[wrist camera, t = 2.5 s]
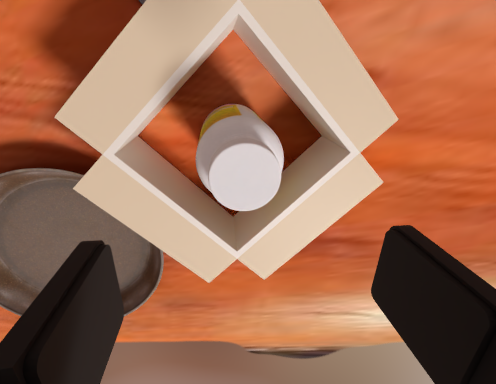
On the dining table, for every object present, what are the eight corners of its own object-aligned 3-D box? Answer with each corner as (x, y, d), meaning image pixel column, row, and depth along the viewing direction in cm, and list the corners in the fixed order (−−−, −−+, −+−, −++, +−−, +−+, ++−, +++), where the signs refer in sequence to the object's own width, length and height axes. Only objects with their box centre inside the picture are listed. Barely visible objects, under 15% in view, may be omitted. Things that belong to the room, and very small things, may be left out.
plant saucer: (202, 244, 34) (201, 261, 31) (94, 330, 38) (83, 352, 35) (55, 116, 26) (34, 121, 23) (-63, 240, 30) (-94, 258, 27)
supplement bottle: (192, 153, 29) (176, 207, 17) (213, 92, 27) (211, 106, 15) (250, 173, 30) (270, 235, 19) (274, 117, 28) (314, 148, 17)
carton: (377, 135, 30) (420, 152, 24) (233, 260, 35) (236, 302, 29) (233, -63, 22) (239, -119, 16) (69, 135, 27) (24, 155, 20)
